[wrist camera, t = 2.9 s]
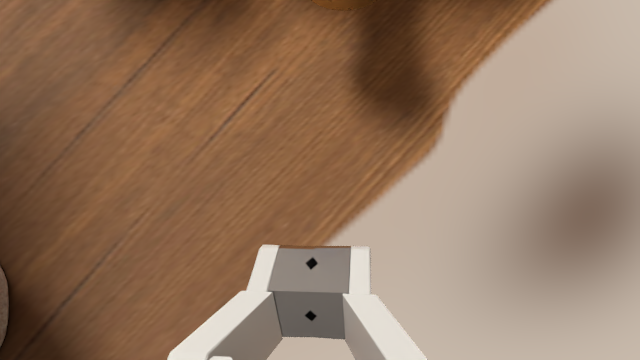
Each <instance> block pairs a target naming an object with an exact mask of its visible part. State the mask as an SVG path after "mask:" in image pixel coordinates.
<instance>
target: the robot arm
mask: <svg viewBox="0 0 640 360" xmlns="http://www.w3.org/2000/svg"><path fill="white" fill-rule="evenodd" d="M282 337H318V338H332V339H345V341H346V343H347V345H348V346H349V348H350V350H351V352H352V354H353V356H354V358H355V360H428V359H427V358H426V357H425V356H424V354H423V353H422V352H421V350H420V349H419V348H418V347H417V345H416V344H415V343H414V342H413V340H412V339H411V338H410V337H409V335H408V334H407V333H406V331H405V330H404V329H403V328H402V326H401V325H400V324H399V323H398V321H397V320H396V319H395V317H394V316H393V315H392V314H391V312H390V311H389V310H388V308H387V307H386V306H385V305H384V303H383V302H382V301H381V300H380V298H379V297H378V296H377V295H371V258H370V247H369V246H352V247H351V246H295V245H262V246H261V248H260V249H259V252H258V255H257V258H256V262H255V265H254V268H253V271H252V274H251V277H250V281H249V284H248V287H247V290H246V291H240V292H239V293H238V294H237V295H236V296H234V297H233V298H232V299H231V300H230V301H229V302H228V303H226V304H225V305H224V306H223V307H222V308H221V309H219V310H218V311H217V312H216V313H215V314H214V315H213V316H211V317H210V318H209V319H208V320H207V321H206V322H205V323H203V324H202V325H201V326H200V327H199V328H198V329H196V330H195V331H194V332H193V333H192V334H191V335H190V336H188V337H187V338H186V339H185V340H184V341H183V342H181V343H180V344H179V345H178V346H177V347H176V348H175V349H173V350H172V351H171V352H170V354H169V356H168V359H167V360H266V359H267V358H268V357H269V355H270V354H271V353H272V351H273V350H274V349H275V348H276V346H277V345H278V344H279V343H280V341H281V340H282Z"/></svg>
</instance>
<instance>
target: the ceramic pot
mask: <svg viewBox="0 0 640 360" xmlns="http://www.w3.org/2000/svg"><path fill="white" fill-rule="evenodd" d="M8 312H9V299H8V286H7V280H6V277H5V275H4V272H3V270H2V269H1V266H0V347H1V345H2V343H3V341H4V338H5V335H6V330H7V324H8Z"/></svg>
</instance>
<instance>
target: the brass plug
mask: <svg viewBox="0 0 640 360" xmlns="http://www.w3.org/2000/svg"><path fill="white" fill-rule="evenodd" d="M311 1H313V2H314V3H316V4H318V5H320V6H322V7H325V8H328V9H332V10H342V11H344V10H355V9H359V8H363V7H366V6H368V5H370V4H372V3H374V2H375V1H377V0H311Z"/></svg>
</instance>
